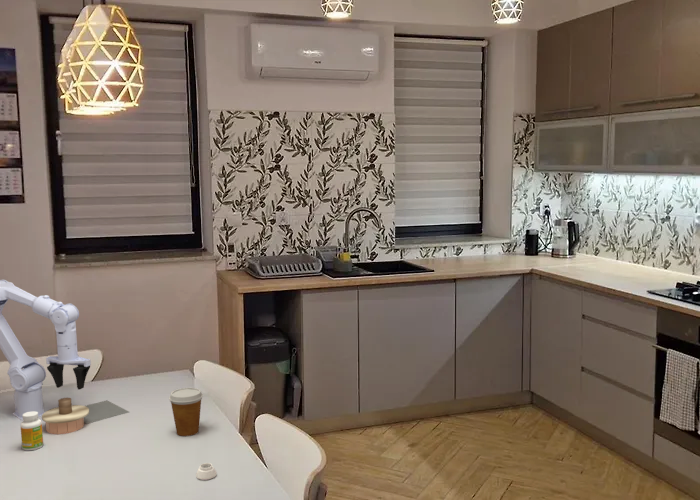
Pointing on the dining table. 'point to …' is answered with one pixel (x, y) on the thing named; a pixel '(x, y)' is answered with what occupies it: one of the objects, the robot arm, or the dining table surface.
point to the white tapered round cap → (206, 471)
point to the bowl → (64, 427)
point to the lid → (65, 412)
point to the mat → (102, 411)
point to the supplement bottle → (31, 431)
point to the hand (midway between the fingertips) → (70, 387)
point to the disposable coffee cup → (186, 410)
